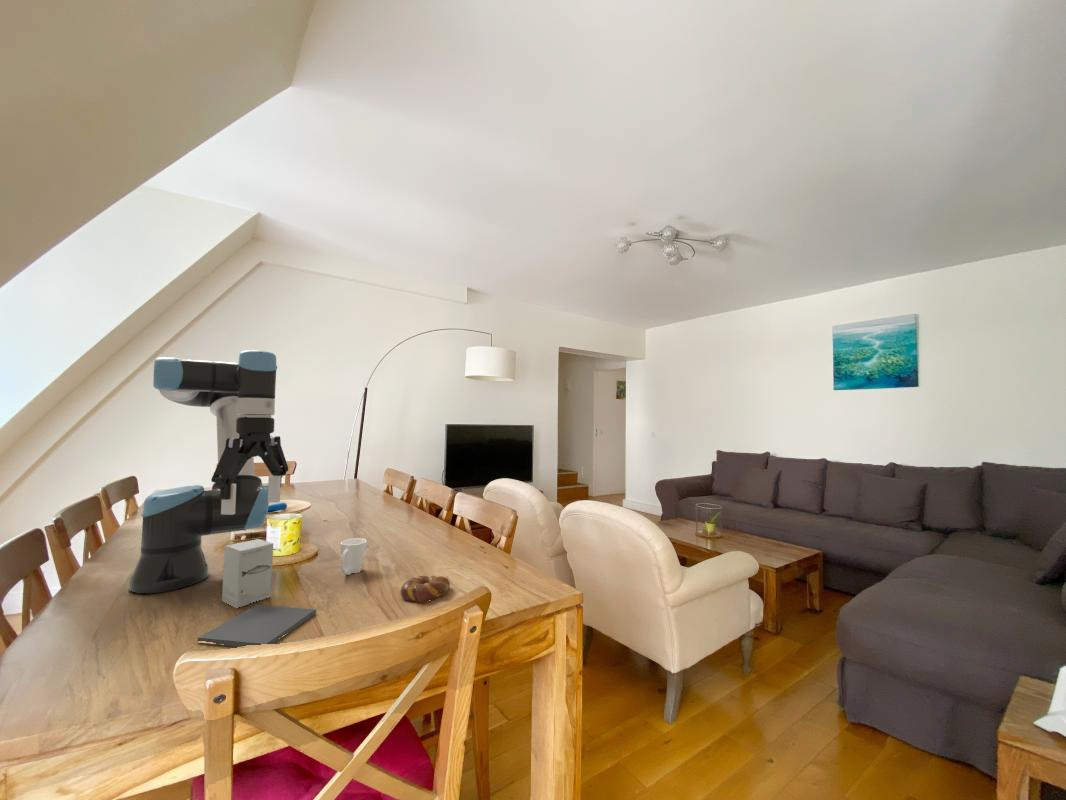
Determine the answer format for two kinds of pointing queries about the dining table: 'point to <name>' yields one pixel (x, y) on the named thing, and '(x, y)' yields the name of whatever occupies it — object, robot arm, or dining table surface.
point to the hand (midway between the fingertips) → (252, 507)
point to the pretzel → (424, 588)
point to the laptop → (258, 626)
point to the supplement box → (247, 572)
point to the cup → (352, 555)
